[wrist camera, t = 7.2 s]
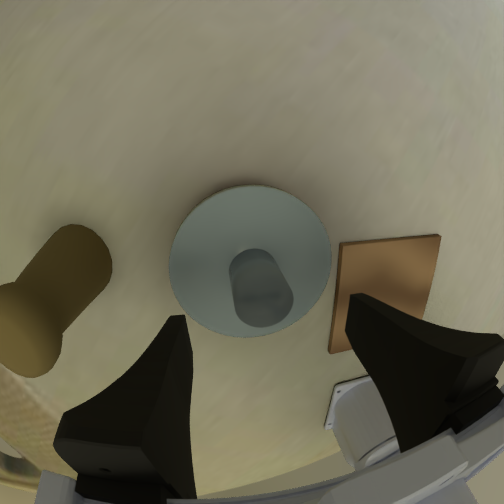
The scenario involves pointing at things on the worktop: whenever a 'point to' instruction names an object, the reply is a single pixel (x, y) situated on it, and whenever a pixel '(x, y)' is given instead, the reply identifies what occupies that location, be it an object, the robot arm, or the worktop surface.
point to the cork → (50, 298)
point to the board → (383, 278)
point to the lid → (249, 261)
